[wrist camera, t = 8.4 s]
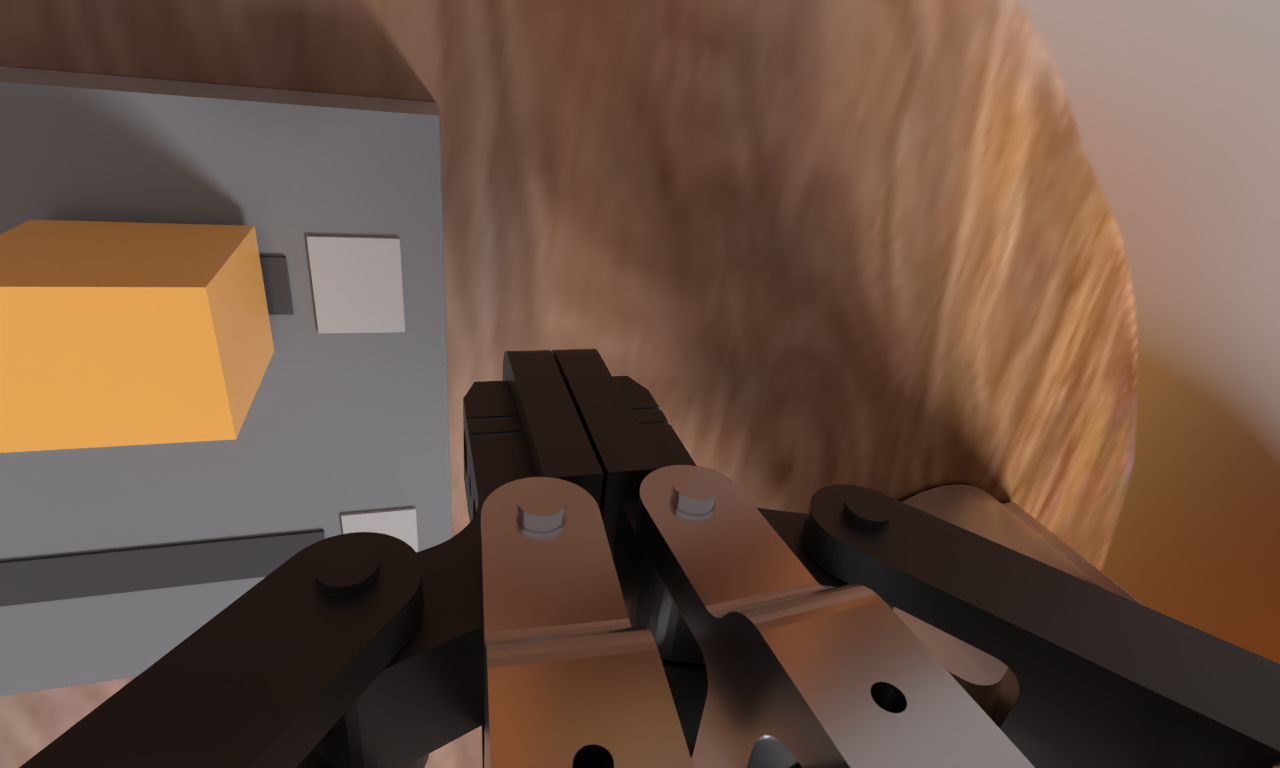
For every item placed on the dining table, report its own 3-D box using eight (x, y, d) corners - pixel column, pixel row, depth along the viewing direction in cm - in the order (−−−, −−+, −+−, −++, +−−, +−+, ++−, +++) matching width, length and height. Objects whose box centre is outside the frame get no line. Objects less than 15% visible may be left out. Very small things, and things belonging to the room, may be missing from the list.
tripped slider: (254, 225, 14) (205, 287, 11) (274, 350, 16) (235, 439, 12) (29, 219, 13) (-102, 286, 10) (71, 355, 15) (-32, 454, 11)
